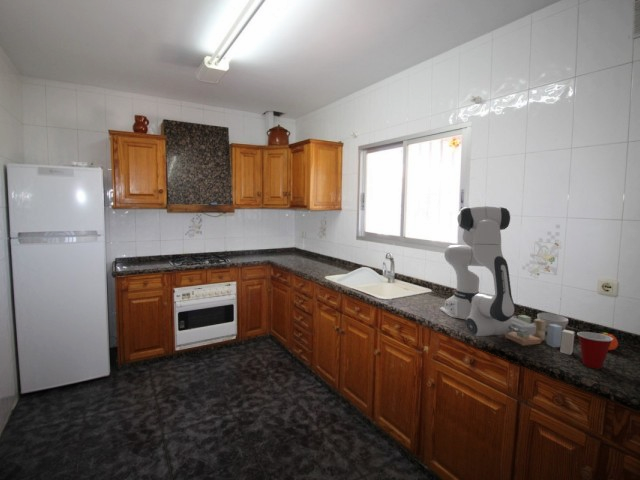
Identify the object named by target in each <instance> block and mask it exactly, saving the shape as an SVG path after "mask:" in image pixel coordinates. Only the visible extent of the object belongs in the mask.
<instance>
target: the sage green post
mask: <svg viewBox="0 0 640 480" xmlns="http://www.w3.org/2000/svg"><path fill="white" fill-rule="evenodd" d="M517 317H518V319H519V320H522V321H524V322H527V323H532V322H531V320H532V317H531V316H528V315H525V314H521V315H519V314H518V315H517ZM516 335H518V336H520V337H523V338H524V337H529V335H522V334H518V333H517V334H516Z"/></svg>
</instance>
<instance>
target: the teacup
mask: <svg viewBox="0 0 640 480" xmlns="http://www.w3.org/2000/svg"><path fill="white" fill-rule="evenodd" d="M537 319H541V320H544V321H546V327H545V334H546V333H547V334H548V324H557V325H559V326H561V327H562V331H563V330H564V329H565V330H566V328H567V326H568V324H569V319H568V318H566V317H565V316H563V315H560V314H554V313H550V312H538V313H537Z"/></svg>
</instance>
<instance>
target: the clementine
mask: <svg viewBox="0 0 640 480" xmlns="http://www.w3.org/2000/svg"><path fill="white" fill-rule="evenodd" d="M598 334H603V335H607V336H610V337H612V338H613V340H612V342H611V344H610V347H609V349H608V351H613V350H615V349H617V348H618V345H619V342H618V339H617V337H615V336H614V335H613V334H611V333H608V332H600V333H598Z"/></svg>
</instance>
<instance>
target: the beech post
mask: <svg viewBox="0 0 640 480" xmlns="http://www.w3.org/2000/svg"><path fill="white" fill-rule="evenodd" d="M533 323H535V324H536V333H535V334H534V335H533V336H535V337H537V338H540V339H541V342H543V341H545V338H546V336H545V335H546V332H545V327H546V321H544V320H541V319H538V318H535V319H533Z"/></svg>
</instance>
